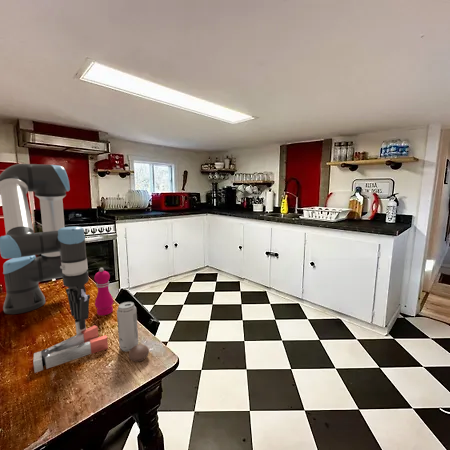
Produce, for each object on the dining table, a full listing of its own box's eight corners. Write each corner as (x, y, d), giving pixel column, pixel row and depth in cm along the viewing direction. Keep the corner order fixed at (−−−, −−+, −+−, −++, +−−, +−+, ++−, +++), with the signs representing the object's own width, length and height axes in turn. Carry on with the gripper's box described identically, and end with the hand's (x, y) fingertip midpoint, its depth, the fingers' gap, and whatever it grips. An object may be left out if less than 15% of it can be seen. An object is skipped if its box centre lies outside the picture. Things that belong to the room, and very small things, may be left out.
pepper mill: (107, 316, 106) (103, 270, 103) (92, 315, 107) (87, 270, 105) (117, 308, 113) (114, 265, 110) (103, 307, 114) (99, 264, 112)
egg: (125, 360, 79) (124, 348, 78) (141, 350, 84) (140, 339, 83) (137, 367, 75) (136, 355, 75) (153, 356, 80) (152, 345, 80)
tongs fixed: (34, 373, 74) (32, 359, 73) (35, 363, 78) (33, 350, 77) (108, 348, 85) (107, 335, 84) (105, 341, 89) (104, 329, 88)
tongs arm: (49, 361, 78) (47, 350, 78) (46, 359, 79) (44, 348, 79) (98, 336, 92) (97, 326, 91) (95, 334, 93) (94, 325, 92)
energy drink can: (120, 343, 87) (117, 302, 85) (138, 340, 89) (136, 299, 87) (118, 354, 82) (115, 310, 80) (138, 350, 83) (135, 307, 81)
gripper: (55, 271, 87) (62, 335, 90) (71, 279, 79) (79, 348, 83) (78, 266, 93) (84, 326, 96) (95, 272, 85) (101, 337, 88)
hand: (81, 336), depth 89 cm, fingers closed
